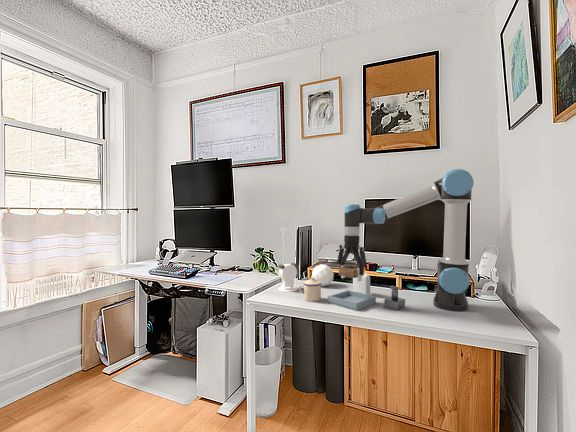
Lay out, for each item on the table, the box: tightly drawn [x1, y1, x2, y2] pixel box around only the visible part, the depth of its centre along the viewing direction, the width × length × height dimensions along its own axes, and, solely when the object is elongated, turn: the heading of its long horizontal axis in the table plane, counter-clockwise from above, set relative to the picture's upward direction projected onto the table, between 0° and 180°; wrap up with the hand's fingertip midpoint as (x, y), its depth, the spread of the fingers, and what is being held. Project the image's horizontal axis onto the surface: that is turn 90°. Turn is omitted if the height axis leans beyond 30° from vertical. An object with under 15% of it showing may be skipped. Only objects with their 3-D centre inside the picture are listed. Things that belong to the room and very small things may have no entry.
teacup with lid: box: [298, 276, 322, 303], centre depth 167 cm, size 12×9×12 cm
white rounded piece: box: [277, 262, 298, 293], centre depth 187 cm, size 12×11×15 cm
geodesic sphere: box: [311, 263, 335, 287], centre depth 195 cm, size 14×14×14 cm
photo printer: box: [352, 272, 371, 295], centre depth 175 cm, size 10×4×12 cm, turn 39°
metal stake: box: [384, 285, 406, 311], centre depth 152 cm, size 7×7×10 cm
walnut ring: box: [338, 264, 365, 279], centre depth 160 cm, size 10×9×4 cm
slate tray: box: [327, 289, 377, 312], centre depth 159 cm, size 17×17×4 cm
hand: (351, 279), depth 159 cm, fingers closed on walnut ring, 9 cm apart
